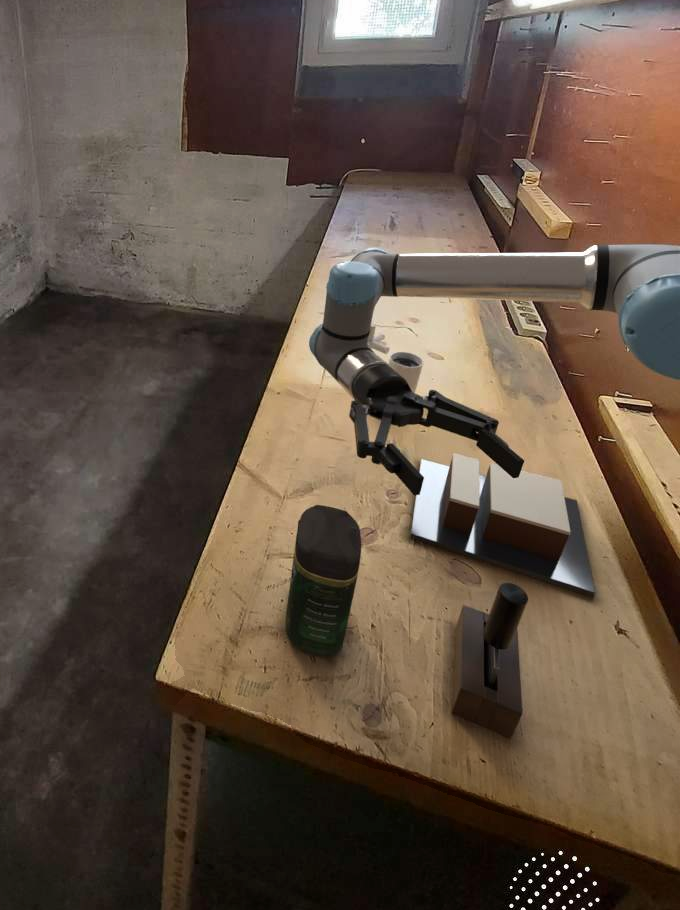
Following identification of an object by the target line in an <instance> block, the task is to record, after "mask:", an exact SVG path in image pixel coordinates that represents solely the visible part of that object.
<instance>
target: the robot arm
mask: <svg viewBox="0 0 680 910" xmlns="http://www.w3.org/2000/svg"><path fill="white" fill-rule="evenodd" d="M325 289H326V295H325V303H324V311H323V319H322V323H321V324H318V326H317V327H315V329H314V331H313V332H312V334H311V335H310V337H309V340H308V346H309V347H308V348H309V350H310V352H311V354H312V355H313V356H314V358H315V360H316V361H317V363H318V364H319V365H320V366H321V367H322V368H323V369H325V370H326V372H328V374H329V375H330V376H331V377H332V378H333V379H334V380H335V381H336V382H337V383H338V384H339V386H340V387H342V389H343V390H344V391H345V392H346V393H347V394H348V395H349V396H350V397H351V398H352V399H353V400H351V403H350V409H349V414H348V417H349V418H350V420H351V421H352V423H353V425H354V438H355V447H356V456H357V457H358V458H359V459H367V458H368V457H371V458H370V461H371V462H372V463H373V464H374V465H380V464H381V465H382V466H383V467H384V469H385V470H386V471H387V472H388V473H389V474H394V475H395V476H397V477H398V479H399V480H400V481H401V483H402V484H404V486H405V488H407V490H409V491H410V493H411V494H412V495H413V496H414V497H415V496H416V495H420V492H421V488H422V484H423V480H424V477H423V476H422V475H421V474H420V472H419V470H418V469H417V468H416V467H415V466H414V464H412V463H411V462H410V460H409V459H408V458H407V457H406V456H405V455H404V454H403V453H402V452H401V451H400V449H398V447H397V446H396V445H395V444H394V443H393V442H390V443H387V440H388V438H389V433H390V430H391V426H395V427H398V428H402V427H405V426H415V425H420V426H423V427H425V428H430V427H434V428H437V429H440V430H443V431H446V432H449V433H451V434H454V435H458V436H460V437H464V438H467V439H470V440H473V441H475V442H476V444H475V446H476V447H477V448H478V449H479V450H481V451H482V452H483V453H484V454H485V455H486V456H487V457H489V458H490V459H491V460H492V461H493V463H494V462H495V463H494V464H498V465H499V466H500V467H501V468H502V469H503V470H504V471H506V472H507V473H508V474H509V475H510V476H511V477H512V478H518V477H519V475H520V472H521V470H523V467H524V463H525V460H526V459H524V458H522V457H521V456H520V455H519V454H518V453H516V452H515V451H514V450H513V449H511V447H510V446H509V444H508V443H507V442H506V441H505V440H504V439H502V437H500V436H499V435H497V430H498V426H499V424H500V422H499V420H498V419H496V418H494V417H492V416H489V415H487V414H485V413H483V412H480V411H478V410H476V409H473V408H471V407H468V406H466V405H464V404H462V403H460V402H457V401H455V400H453V399H450V398H448V397H446V396H444V395H443V394H442V393H440V392H439V391H438V390H435V389H429V391H428V395H427V394H426V395H423V396H421V395H419V394H418V393H416V392H415V393H413V392H412V391H411V389H410V387H409V385H408V383H407V381H406V380H405V379H404V378H403V377H402V376H401V375H400V374H399V373H397V372H396V371H395V370H394V369H393V368H391V367H390V366H389V363H388V362H386V361H385V359H383V358H382V357H380V355H378V354H377V353H376V352H375V351H373V349H372V350H371V349H370V348H369V347H368V339H369V334H370V327H371V323H373V322H372V321H373V316H374V312H375V307H376V305H377V304H378V302H379V301H380V298H381V297H388V298H389V297H390V298H391V297H393V298H399V297H401V298H403V297H405V298H429V299H430V298H433V299H460V300H485V301H486V300H488V301H490V300H491V301H517V302H518V301H519V302H544V303H545V302H546V303H570V304H571V303H574V304H575V303H576V304H580V305H581V306H582V307H583V308H584V309H586V310H587V311H602V312H603V311H604V312H610V313H615V314H617V318H618V319H617V320H618V321H617V322H618V323H617V324H618V330H619V335H620V336H621V338H622V341H623V343H624V345H625V346H627V349H628V351H629V352H630V353H631V355H633V357H634V358H635V359H636V360H637V361H638V362H639V363H640V364H641V365H643V366H644V367H646V368H647V369H649V370H651V371H652V372H654V373H656V374H658V375H661V376H663V377H666V378H668V379H669V378H670V379H672V380H676V381H680V245H673V244H654V243H653V244H647V243H646V244H645V243H643V244H640V243H639V244H593V245H591V246H590V247H588V248H587V249H586V250H584V251H579V252H578V251H575V252H573V251H572V252H571V251H570V252H569V251H567V252H566V251H565V252H564V251H563V252H562V251H561V252H476V253H475V252H472V253H469V252H468V253H466V252H465V253H462V252H461V253H390V252H389V251H387V250H386V249H383V248H381V247H367V248H365V249H363V250H361V251H360V252H359V253H357V254H356V255H355V256H354V257H352V258H351V260H350V261H342V262H341V263H336V264H334V265H333V266H332V267H331V269H330V271H329V276H328V280H327V283H326V287H325ZM424 409H425V410H427V413H426V416H425V417H426V418H425V417H423V416H424V412H425V411H424ZM368 416H370V417H372V418H373V419H376V420H379V422H380V423H379V426H378V429H377V434H376V436H375V438H374V439H375V440H374V441H370V436H369V427H368V420H367V419H368Z"/></svg>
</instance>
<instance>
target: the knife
mask: <svg viewBox="0 0 680 910" xmlns="http://www.w3.org/2000/svg"><path fill="white" fill-rule="evenodd" d="M528 602H529V596H528V593H527V592H526V591H525V590H524V589H523V588H522V587H521V586H519V585H517V584H516V583H512V582H503V583H501V584H500V585H499V587H498V590H497V592H496V594H495V597H494V600H493V603H492V605H491V609H490V612H489V613H488V614H489V617H488V619H487V622H486V625H485V628H484V631H483V636H484V686H485V687H488V688H490V689H492V687H493V684H494V682H495V679H496V677H497V674H498V672H499V649H501V650H504V649H507V648H509V647H510V644H511V642H512V639H513V637H514V634H515V632H516V629H517V630H518V626H519V624H520V621H521V620H522V617H523V614H524V611H525V609H526V607H527V604H528Z"/></svg>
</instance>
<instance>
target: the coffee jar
mask: <svg viewBox="0 0 680 910" xmlns="http://www.w3.org/2000/svg"><path fill="white" fill-rule="evenodd" d="M360 529H361V528H360V526H359V523H358V522H357V521H356V519H355V518H354V517H353V516H352V515H351V514H349V512H348V511H347V510H344V509H341V508H338V507H337V508H336V507H332V506H328V505H323V504H315V505H313V506H310V507H308V508H307V509H305V510H304V511H303V512H302V513H301V515H300V518H299V520H298V521H297V530H296V536H295V544H294V552H293V559H292V566H291V575H290V582H289V590H288V595H287V604H286V612H285V633H286V637H287V639H288V640H289V641H290V643H291V644H292V645H293V646H294V647H295V648H297V649H299V650H300V651H303V652H305V653H307V654H311V655H314V656H319V657H324V658H325V657H326V658H329V657H334V656H336V655H338V654H339V653H340V652H341V651H342V649H343V646H344V642H345V638H346V633H347V629H348V622H349V619H350V618H349V617H350V613H351V608H352V604H353V600H354V596H355V591H356V585H357V580H358V576H359V571H360V565H361V555H362V535H361V530H360Z"/></svg>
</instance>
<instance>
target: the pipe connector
mask: <svg viewBox="0 0 680 910" xmlns="http://www.w3.org/2000/svg"><path fill="white" fill-rule="evenodd" d="M376 327H377V325H376V323H374V322H371V327H370V334H369V339H368V347H369V348H370V349H371V350H372V351H373V350H375V351H377V352H379V353H382V354H384V355H388V353H389V352H390V347H389V346H386V345H385V344H382V343H380V342H382V341H384V340H385V339H386V337H385V334H383V333H381V332H380V333H378V334H376V335H375V333H376Z"/></svg>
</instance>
